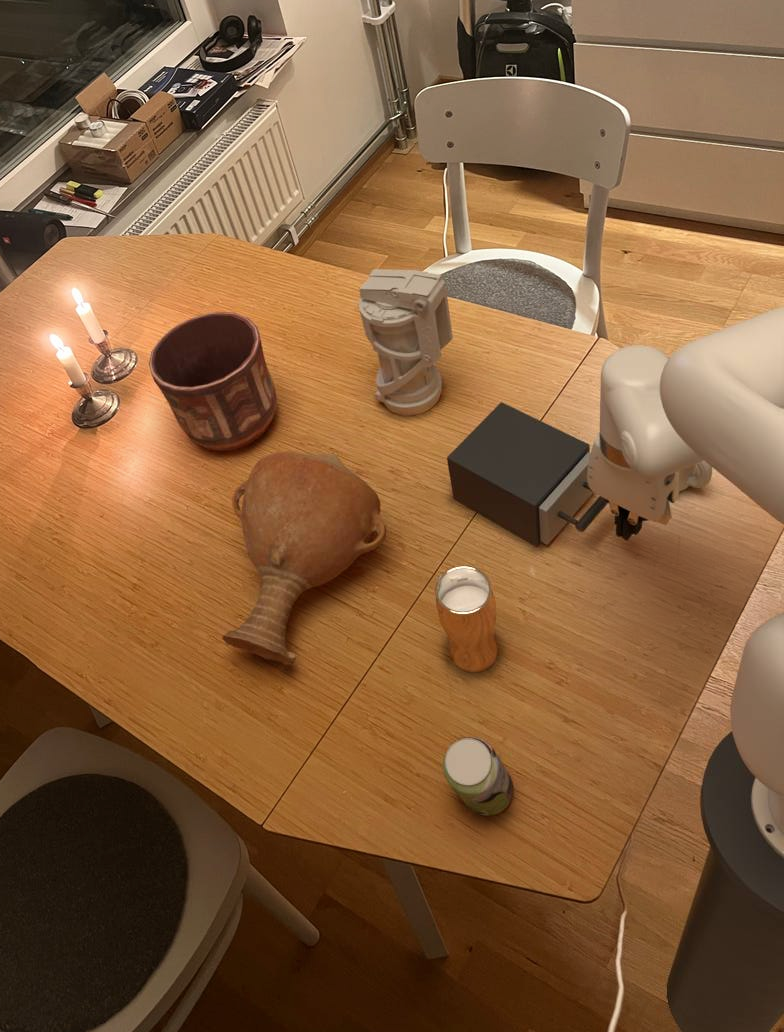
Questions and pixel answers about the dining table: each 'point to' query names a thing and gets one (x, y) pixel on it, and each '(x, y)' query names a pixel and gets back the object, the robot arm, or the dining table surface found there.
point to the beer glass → (468, 616)
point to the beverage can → (478, 776)
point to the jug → (299, 537)
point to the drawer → (568, 503)
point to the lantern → (406, 335)
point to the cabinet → (512, 468)
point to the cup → (695, 476)
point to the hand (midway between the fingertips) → (627, 530)
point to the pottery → (216, 379)
